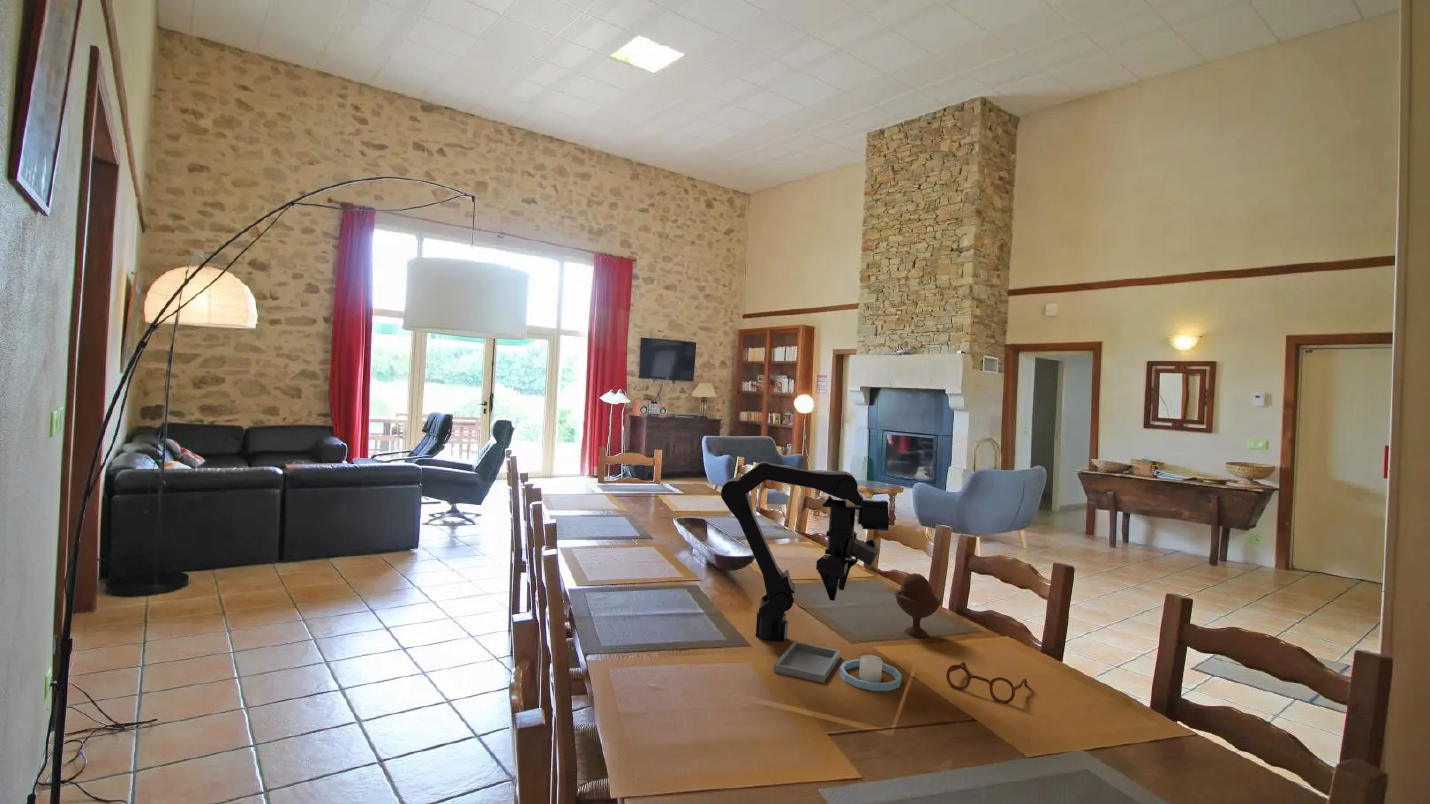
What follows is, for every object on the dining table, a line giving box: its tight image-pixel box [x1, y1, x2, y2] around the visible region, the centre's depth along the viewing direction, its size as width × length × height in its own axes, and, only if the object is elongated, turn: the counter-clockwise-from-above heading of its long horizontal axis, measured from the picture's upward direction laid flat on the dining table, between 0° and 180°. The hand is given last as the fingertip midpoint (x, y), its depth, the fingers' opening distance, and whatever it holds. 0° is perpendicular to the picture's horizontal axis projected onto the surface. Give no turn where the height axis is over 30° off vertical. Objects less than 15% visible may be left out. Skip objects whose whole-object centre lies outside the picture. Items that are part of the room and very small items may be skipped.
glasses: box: [946, 661, 1028, 704], centre depth 141 cm, size 13×13×5 cm
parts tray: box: [773, 641, 842, 684], centre depth 144 cm, size 10×15×2 cm
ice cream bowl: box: [894, 573, 942, 638], centre depth 169 cm, size 11×11×15 cm
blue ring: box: [839, 658, 903, 692], centre depth 139 cm, size 12×12×2 cm
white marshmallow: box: [858, 654, 883, 683], centre depth 139 cm, size 4×4×4 cm
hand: (837, 594), depth 157 cm, fingers open, 9 cm apart
